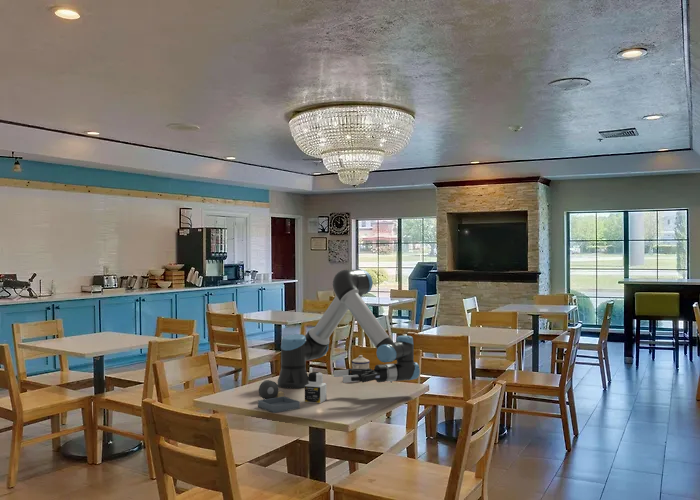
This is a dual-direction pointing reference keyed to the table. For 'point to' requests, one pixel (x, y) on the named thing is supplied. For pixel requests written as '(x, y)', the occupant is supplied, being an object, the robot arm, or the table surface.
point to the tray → (278, 404)
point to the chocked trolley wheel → (269, 390)
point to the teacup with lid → (360, 363)
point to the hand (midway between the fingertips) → (338, 376)
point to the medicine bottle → (315, 388)
